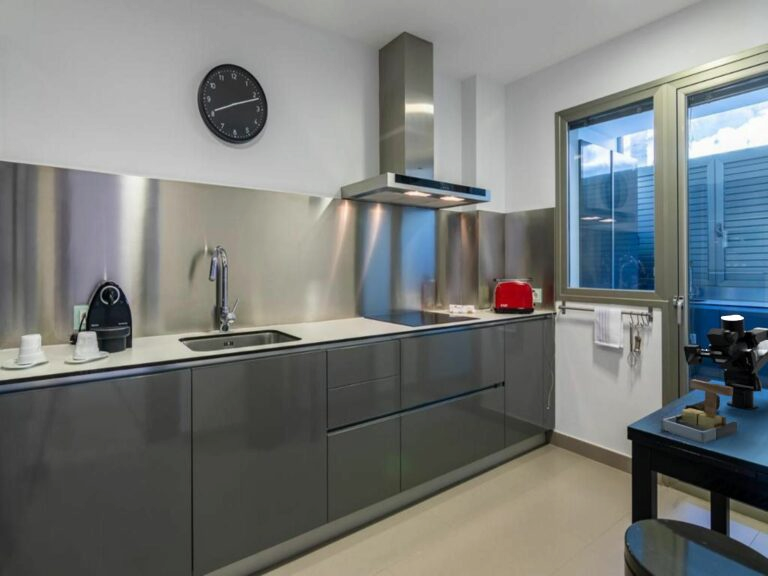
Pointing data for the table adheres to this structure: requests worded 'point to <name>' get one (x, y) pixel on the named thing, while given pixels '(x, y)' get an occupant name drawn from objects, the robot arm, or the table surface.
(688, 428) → the tray
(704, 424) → the chip
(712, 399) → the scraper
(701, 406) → the hand tool
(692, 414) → the chip
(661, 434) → the table surface
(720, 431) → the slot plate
